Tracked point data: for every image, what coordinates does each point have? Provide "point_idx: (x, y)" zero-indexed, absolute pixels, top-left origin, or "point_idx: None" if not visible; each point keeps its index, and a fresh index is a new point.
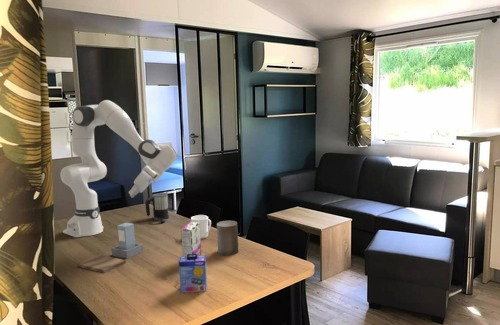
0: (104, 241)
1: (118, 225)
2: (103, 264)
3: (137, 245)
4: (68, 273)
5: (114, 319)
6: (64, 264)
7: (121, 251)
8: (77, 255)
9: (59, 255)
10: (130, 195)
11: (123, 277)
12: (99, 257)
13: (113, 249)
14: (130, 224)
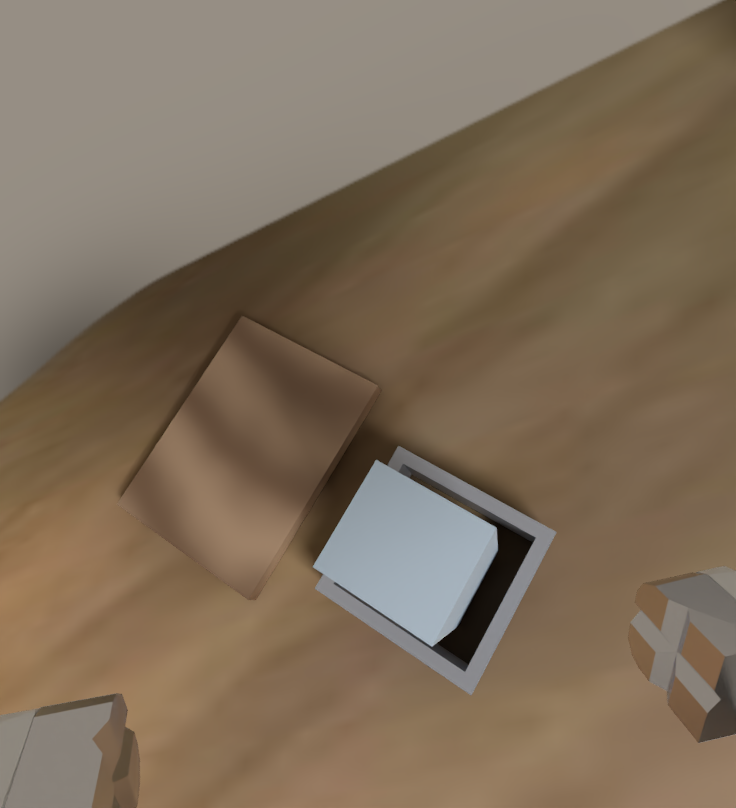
0: (730, 292)
1: (383, 471)
2: (204, 468)
3: (480, 643)
4: (166, 313)
5: None
6: (294, 234)
7: None
8: (430, 237)
9: (440, 139)
10: (645, 597)
11: (40, 644)
12: (327, 399)
13: (388, 465)
14: (407, 608)
